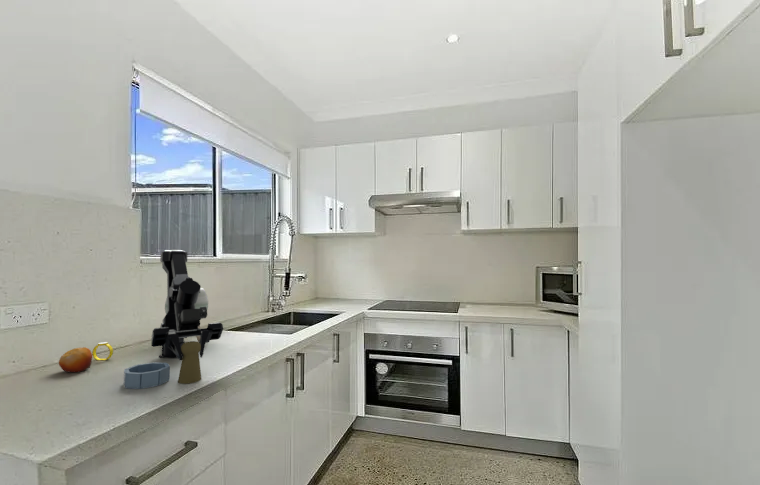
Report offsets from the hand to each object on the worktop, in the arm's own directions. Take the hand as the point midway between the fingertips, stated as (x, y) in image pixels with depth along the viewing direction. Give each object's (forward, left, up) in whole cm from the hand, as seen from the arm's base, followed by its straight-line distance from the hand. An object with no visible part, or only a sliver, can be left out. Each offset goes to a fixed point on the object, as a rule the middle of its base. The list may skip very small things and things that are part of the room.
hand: (191, 358), depth 104 cm
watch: (-43, +17, -7) cm, 47 cm away
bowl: (-12, -2, -7) cm, 14 cm away
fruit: (-41, +5, -7) cm, 42 cm away
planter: (-31, +45, -7) cm, 55 cm away
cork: (-1, +1, -7) cm, 7 cm away
